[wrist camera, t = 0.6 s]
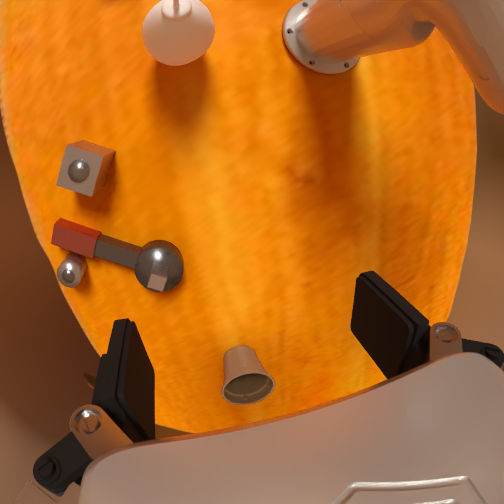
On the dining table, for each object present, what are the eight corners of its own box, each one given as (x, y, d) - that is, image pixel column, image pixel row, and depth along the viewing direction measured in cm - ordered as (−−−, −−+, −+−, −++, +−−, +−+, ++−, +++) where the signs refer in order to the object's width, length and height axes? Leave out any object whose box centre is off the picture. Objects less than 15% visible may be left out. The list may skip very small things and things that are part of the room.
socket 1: (82, 140, 33) (65, 144, 28) (115, 150, 35) (102, 156, 30) (72, 175, 35) (55, 185, 29) (104, 185, 37) (90, 197, 31)
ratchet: (62, 206, 36) (46, 220, 31) (189, 248, 44) (190, 268, 38) (55, 247, 39) (40, 266, 33) (174, 286, 46) (174, 309, 40)
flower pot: (263, 335, 54) (275, 368, 47) (263, 368, 58) (274, 399, 51) (213, 342, 53) (219, 377, 45) (218, 374, 57) (224, 408, 49)
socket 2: (67, 248, 39) (57, 260, 36) (89, 256, 41) (81, 269, 37) (63, 270, 41) (55, 283, 37) (85, 277, 42) (78, 291, 38)
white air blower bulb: (168, 82, 33) (152, 55, 17) (140, 39, 29) (109, -11, 13) (219, 54, 32) (245, 9, 17) (192, 11, 29) (198, -53, 13)
